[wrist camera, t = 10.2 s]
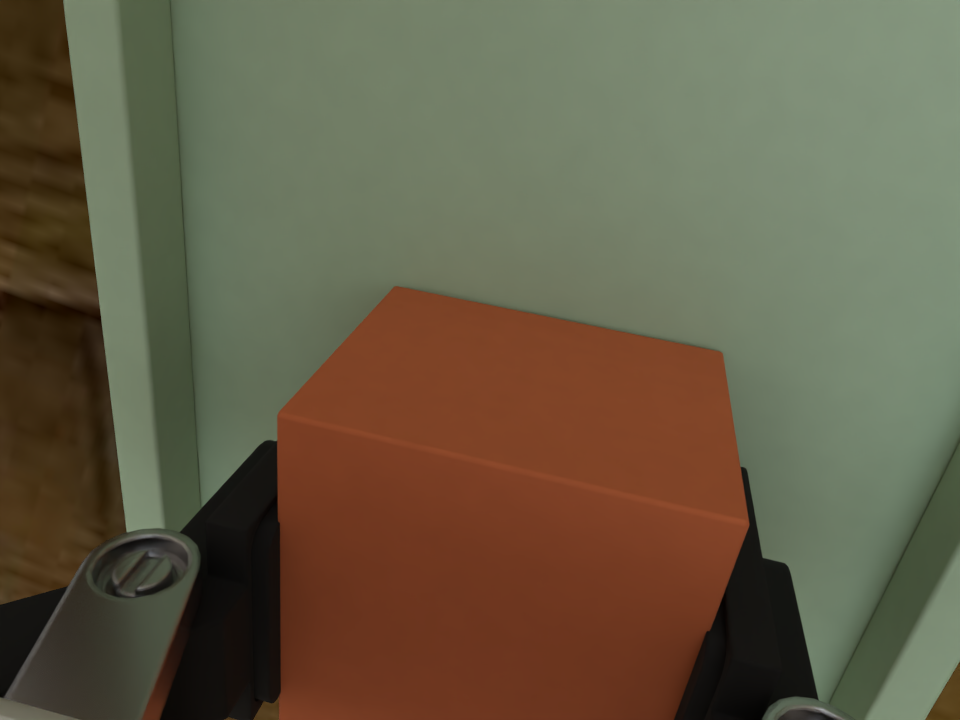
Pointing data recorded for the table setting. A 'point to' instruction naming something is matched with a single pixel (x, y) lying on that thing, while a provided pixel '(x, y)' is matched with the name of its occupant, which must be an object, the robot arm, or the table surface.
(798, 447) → the sage green tray
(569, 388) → the terracotta block
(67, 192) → the table surface
